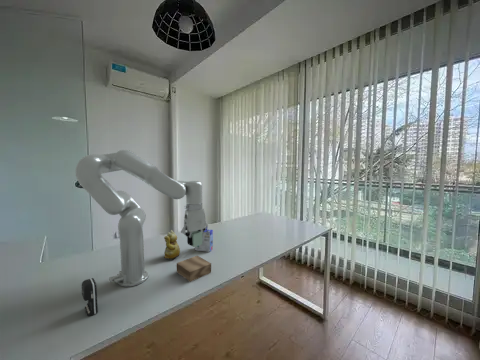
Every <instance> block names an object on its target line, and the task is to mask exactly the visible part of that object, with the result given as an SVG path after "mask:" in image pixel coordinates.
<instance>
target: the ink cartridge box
mask: <svg viewBox="0 0 480 360" xmlns="http://www.w3.org/2000/svg"><path fill="white" fill-rule="evenodd" d="M208 227H209V225H208V226H207V227H206V229H205V231H204V233H203V234H202V244H201V245H198V246H196V247H194V250H195V251H198V252H207V253H210V252H212V250H213V246H214V245H213V243H214V239H213V238H214V230H213V229H208Z"/></svg>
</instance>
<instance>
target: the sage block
mask: <svg viewBox="0 0 480 360" xmlns="http://www.w3.org/2000/svg"><path fill="white" fill-rule="evenodd" d="M189 233H190V232H189ZM191 237H192V246H191V247H193V248H195V247H196V246H198V245H201V244H202V232H200V231H194V232H192V236H191Z"/></svg>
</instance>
